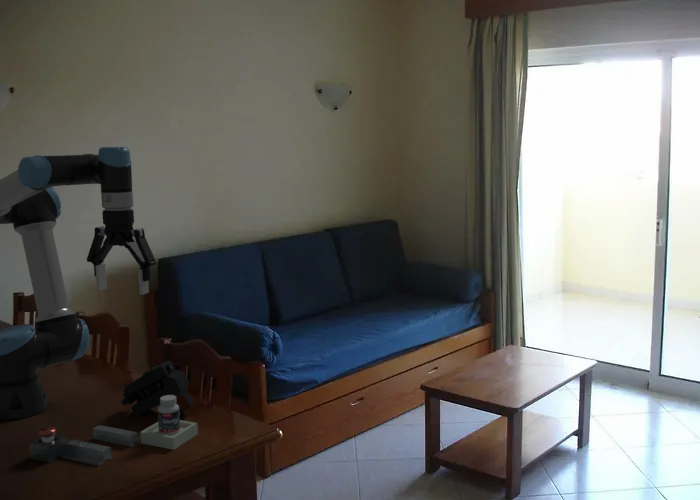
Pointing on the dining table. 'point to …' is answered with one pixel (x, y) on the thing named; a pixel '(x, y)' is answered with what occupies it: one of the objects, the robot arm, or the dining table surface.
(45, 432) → the plunger
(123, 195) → the robot arm
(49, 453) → the block
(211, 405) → the dining table surface
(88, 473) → the dining table surface
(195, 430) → the tray
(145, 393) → the tool
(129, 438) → the socket
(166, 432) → the pill bottle
